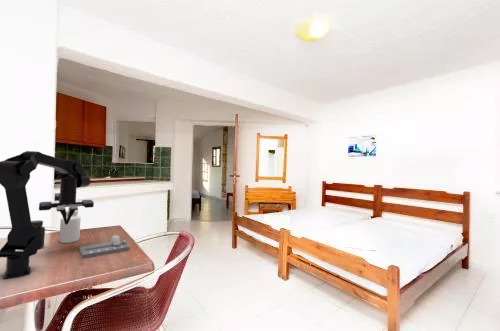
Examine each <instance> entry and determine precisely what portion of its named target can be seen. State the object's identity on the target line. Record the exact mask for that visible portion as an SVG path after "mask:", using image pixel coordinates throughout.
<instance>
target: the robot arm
mask: <svg viewBox="0 0 500 331" xmlns="http://www.w3.org/2000/svg"><path fill="white" fill-rule="evenodd" d="M38 165H40V166H44V167H49V168H53V169H55V171H57V172H59V173H60V174H59V175H57V177H56V179H57V180H60V183H59V185H60V186H59V188H60V189H59V192H58V193H54V202H55V203H53V202H52V201H41V202H39V203H38V211H50V210H51V209H52V208H56V209H55V210H56V212H60V214H61V217H63V219H64V222H65V225H66V224H68V223H69V221H70V219H71V216H72V215H73V213H74V212H75V210H79V207H84V208H86V209H87V208H94V207H95V206H94V205H95V202H94V201H93V200H92V199H82V200H81V201H77V189H78V188H80V189H81V188H86V187H89V185H90V184H91V182H92V181H91V177H90V176H88V174H87V173H86V172H85V171H84V169H83V167H82V165H81V164H80V161H78V160H69V159H68V160H67V159H63V158H58V157H55V156H51V155H48V154H45V153H42V152H40V151H35V150H33V151H30V150H25V151H23V152H21V153H20V154H18V155H14V156H12V157H9V158H6V159H5V160H1V161H0V185H1V186H2V187H3V188H4V190H5V197H6V201H7V206H8V213H9V214H8V215H9V218H10V224H11V228H10V230H9V232H8V234H7V235H6V236H7V239H6V240H7V241H6V242H5V244H4V245H3V246H2V247H1V248H0V258H6V264H5V265H6V266H5V271H4V274H3V280H5V279H11V278H15V277H16V278H17V277H21V276H25V275H26V276H27V275H30V274H31V266H30V259H31V258H30V257H32V256H35V255H36V254H37V253H38V250H39V249H38V247H39V245H40V242H41V237H42V235H41V228H40V227H39V226H33V225H32V223H31V221H32V218H31V214H30V213H31V212H30V206H29V199H28V194H27V188H26V186H27V184H28V182H29V181H30V179H31V172H33V171H35V170H36V169H37V167H38ZM66 207H67V208H68V216H67V218H66V211H67V209H66ZM17 250H18V251H17Z"/></svg>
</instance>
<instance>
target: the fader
mask: <svg viewBox="0 0 500 331" xmlns="http://www.w3.org/2000/svg"><path fill="white" fill-rule="evenodd" d="M120 240H121V237H120V236H119V235H118V234H115V235H111V241H112V242H111V241H110V242H111V243H112V244H113V245H114V246H117V245H120Z"/></svg>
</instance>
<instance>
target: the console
mask: <svg viewBox="0 0 500 331" xmlns="http://www.w3.org/2000/svg"><path fill="white" fill-rule="evenodd" d="M111 242H112V240H111V241H108V242H102V243H96V244H95V243H94V244H88V245H82V246H79V247H78V251H79V254H80V255H81V257H82V259H88V258H94V257H99V256H103V255H104V256H105V255H110V254H116V253H121V252H125V251H126V250H127V251H131V246H130V245H129V244H128V243H127V241H126V240H125V239H120V245H117V246H114V245H113V244H112V243H111ZM127 251H126V252H127Z"/></svg>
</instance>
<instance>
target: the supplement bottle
mask: <svg viewBox="0 0 500 331" xmlns="http://www.w3.org/2000/svg"><path fill="white" fill-rule="evenodd" d="M31 223H32V225H33V226H39V227H40V228H41V235H42V237H41V242H40V245H39V247H38V250H40V249H43V248H44V247H45V236H46V227H45V226H44V221H43V220H31Z"/></svg>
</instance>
